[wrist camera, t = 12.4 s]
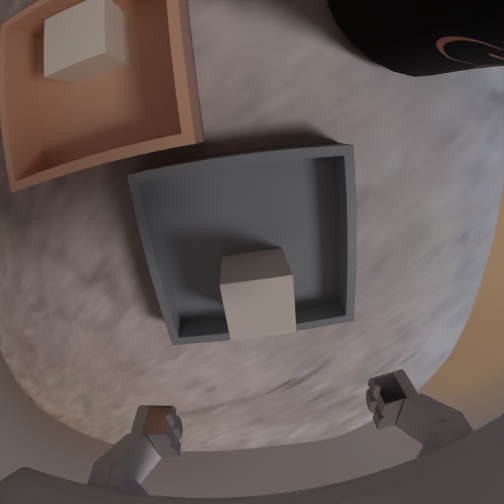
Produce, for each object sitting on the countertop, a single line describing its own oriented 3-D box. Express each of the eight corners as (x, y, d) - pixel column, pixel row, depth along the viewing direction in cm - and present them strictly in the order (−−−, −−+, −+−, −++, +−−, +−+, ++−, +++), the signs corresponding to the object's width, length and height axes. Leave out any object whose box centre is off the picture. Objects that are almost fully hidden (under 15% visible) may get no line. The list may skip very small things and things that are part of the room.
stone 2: (222, 255, 20) (219, 284, 16) (282, 247, 20) (292, 274, 16) (231, 306, 22) (231, 341, 18) (286, 299, 22) (296, 332, 18)
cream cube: (74, 34, 13) (44, 20, 10) (127, 15, 13) (104, -7, 10) (76, 84, 15) (44, 77, 11) (130, 66, 15) (105, 52, 11)
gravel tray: (139, 169, 18) (126, 175, 16) (339, 142, 18) (353, 144, 16) (177, 324, 23) (172, 344, 20) (343, 302, 23) (353, 320, 20)
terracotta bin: (35, 35, 13) (1, 24, 9) (185, -19, 13) (174, -51, 9) (48, 179, 18) (11, 193, 14) (204, 141, 18) (195, 143, 14)
